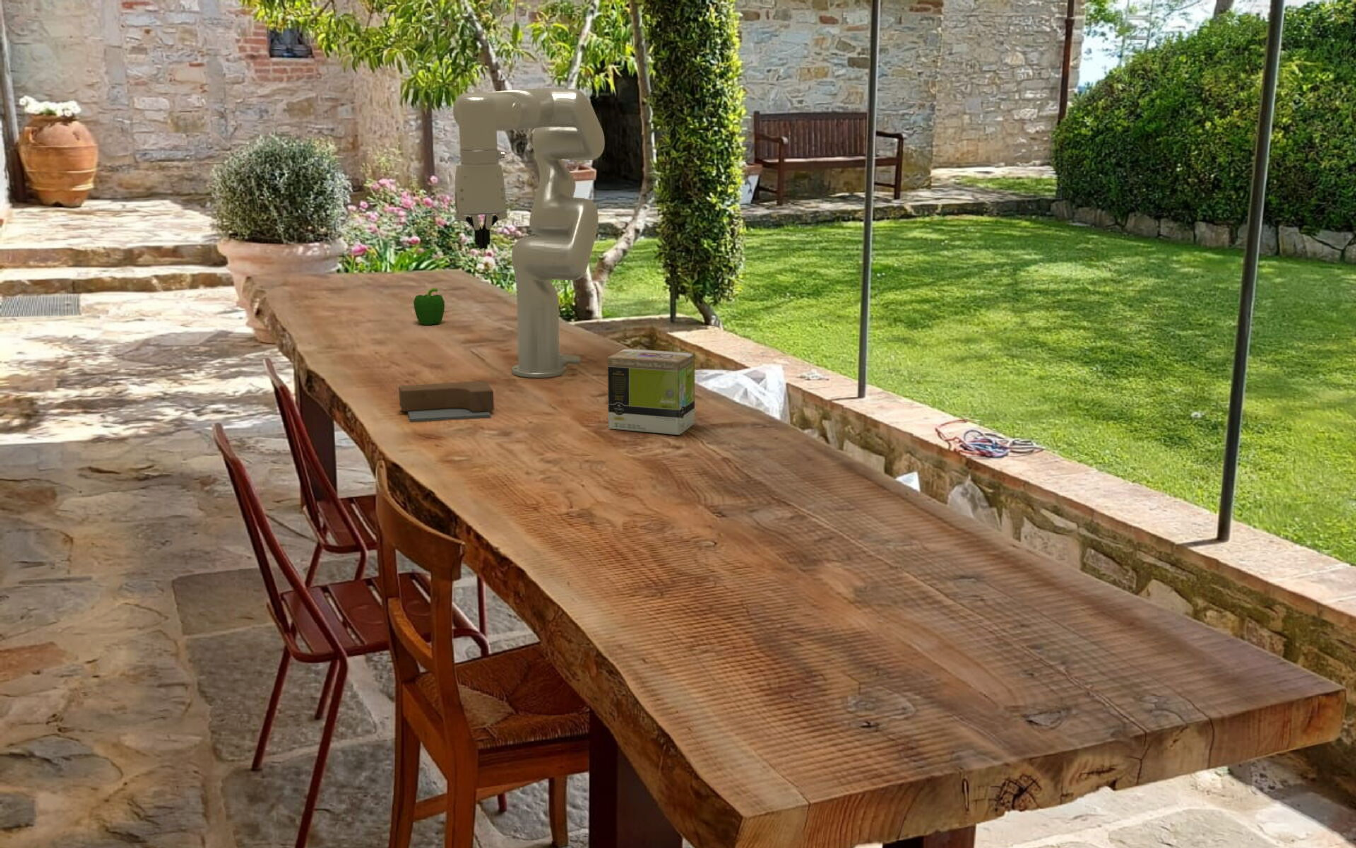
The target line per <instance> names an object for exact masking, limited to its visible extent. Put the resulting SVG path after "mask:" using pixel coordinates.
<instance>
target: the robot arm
mask: <svg viewBox="0 0 1356 848" xmlns="http://www.w3.org/2000/svg"><path fill="white" fill-rule="evenodd" d="M452 114H453V119H454V120H455V123H456V124H457V125H458V131H459V132H458V133H459V134H458V135H459V157H460V159H459V160H460V164H457V165H456V168H455V179H454V209H455V214H454V215H455V216H454V219H456V221H460V222H465V223H467V224H469V225H470V227H472V229H474V230H473V231H474V232H473V233H474V245H475V246H477V248H478V249H479V250H483V249H484V250H488V247H489V245H491V229H492V228H493V226H494V225H495V224H496V223H497V222H498V221H502V220H506V219H508V217H509V216H508V212H507V194H506V186H505V177H504V172H503V168H502V164H500V163H499V161H500V160H503V159H505V158H506V155H505V151H500V150H499V149H498V133H497V132H508V131H512V130H518V131H519V130H521V131H522V130H530V129H532V130H533V129H534V130H533V132H532V135H531V136H532V138H531V139H532V147H533V152H534V156H535V160H536V165H537V167H538V174H539V182H538V185H537V191H536V193H535V197H534V200H533V204H532V207H531V212H530V214H529V219H528V220H529V227H530V231H531V232H532V233H533V234H534V235H530V236H525V237H522V238H520V239H518V240H517V241H515V243H514V244H513V246H512V249H511V261H512V266H513V272H514V278H515V284H516V285H515V286H516V300H517V301H516V303H517V304H516V305H517V307H516V308H517V351H518V352H517V358H518V359H517V360H518V364H515V365H513V366H512V367H511V372H512V374H513V375H515V376H517V377H522V378H531V379H533V378H534V379H535V378H537V379H538V378H539V379H540V378H545V379H546V378H553V377H554V378H555V377H558V376H561V375H564V374H566V373H567V367H566V366H567V365H580V363H581V362H580V361H581V360H580V355H572V354H567V355H566V354H564V355H563V354H562V352H560V311H559V309H560V307H559V306H560V305H559V304H560V302H559V295H558V292H557V290H556V288H555V286H554V284H553V283H552V282H551V280H559V281H578V280H580V279H581V278H583V276H585V275H586V271H587V269H588V266H589V262H590V259H591V256H592V251H593V248H594V244H595V240H596V236H597V232H598V228H599V211H598V208H597V205H596V204H595V203H594V202H593V201H592V200H591V199H588V198H585V197H575V196H574V195H575V191H576V187H577V186H576V181H575V179H574V176H573V175H572V172H571V171H570V169H568V168H567V166H566V164H565V162H563V160H566V161H567V160H571V161H572V160H573V161H574V160H575V161H594V160H596V159H598V158H600V157H601V155H602V154H603V152H604V149H605V143H606V141H605V135H604V131H603V128H602V125H601V123H600V122H599V118H598V117H597V115H596V113H595V110H594V107H593V106H592V104H591V102H590V100H589V99H588V96H587V95H585V93H584V92H583V91H581V90H579V89H576V88H551V87H550V88H546V87H545V88H542V87H540V88H522V89H507V90H498V91H484V92H483V91H480V92H464V93H461V94H459V95H458V96H457V97H456V99H455V101H454V103H453V108H452ZM480 215H481V216H482V215H484V218H483V225H480V219H479V216H480Z"/></svg>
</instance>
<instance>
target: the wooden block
mask: <svg viewBox="0 0 1356 848" xmlns="http://www.w3.org/2000/svg"><path fill="white" fill-rule="evenodd" d="M398 393H399V395H398V397H399V399H398V400H399V407H400V409H401V411H402V412H408V411H418V410H433V409H449V408H462V409H469V410H470V411H472V412H486V411H489V412H494V409H495V408H494V407H495V406H494V390H493V389H492V387H491V386H490V385H489V383H488V382H487V381H486V380H479V381H478V380H477V381H462V382H461V381H457V382H446V383H445V382H443V383H429V384H427V383H426V384H411V385H409V384H407V385H400V386H398Z"/></svg>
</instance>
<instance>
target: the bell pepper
mask: <svg viewBox="0 0 1356 848" xmlns="http://www.w3.org/2000/svg"><path fill="white" fill-rule="evenodd" d="M438 291H439V289H438V288H436V287H435V288H434V287H433V288H430V289H429V290H428V291H427V294H424V295H423V294H418V295H416V296H415V298H414V300H413V310H414V313H415V316H416V320H417V321H418V322H419V324H420V325H424V326H425V325H426V326H431V325H437V324H440V323H441V322H442V320H443V317H444V314H445V307H446V305H445V303H446V302H445V300H444V297H443V296H442V294H434V295H432V293H433V292H436V293H438Z"/></svg>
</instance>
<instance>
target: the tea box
mask: <svg viewBox="0 0 1356 848" xmlns="http://www.w3.org/2000/svg"><path fill="white" fill-rule="evenodd" d="M695 355H696V354H695V352H686V351H685V352H684V351H683V352H682V351H668V350H667V351H666V350H653V349H652V350H651V349H636V348H624V349H622V350H620V351H619V352H615V353H614V354H612V355H610V356H608V357H607V410H608V411H607V412H608V413H607V414H608V415H607V417H608V429H610V430H611V429H612V430H621V431H630V432H631V431H632V432H641V433H642V432H643V433H656V434H666V435H677V436H680V435H682V434H683V433H684V432H686V431H687V430H688V429H690V428H691V427H693V426H694V424H695V415H696V414H695V407H696V406H695V405H696V403H695V402H696V400H695V399H696V397H695V396H696V395H695V394H696V391H695V389H696V386H695V385H696V384H695V381H696V379H695V377H696V375H695V374H696V373H695V369H696V368H695V367H696V366H695V365H696V364H695V363H696V361H695Z"/></svg>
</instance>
